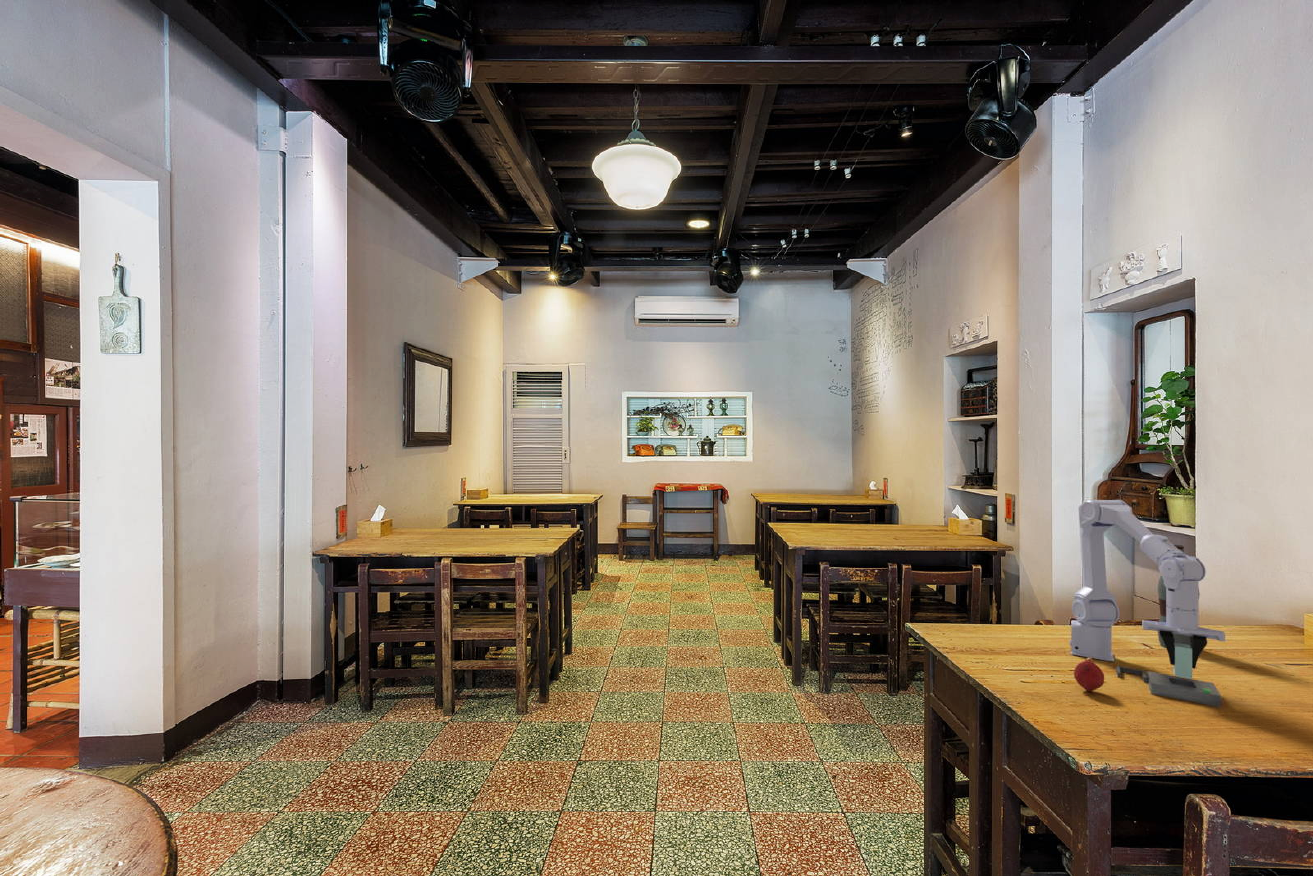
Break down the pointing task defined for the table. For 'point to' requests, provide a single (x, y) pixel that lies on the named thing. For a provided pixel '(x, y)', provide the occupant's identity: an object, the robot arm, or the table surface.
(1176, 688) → the port panel
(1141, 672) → the holster
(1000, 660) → the table surface
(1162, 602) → the bottle
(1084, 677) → the onion
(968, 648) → the table surface
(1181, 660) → the plug
